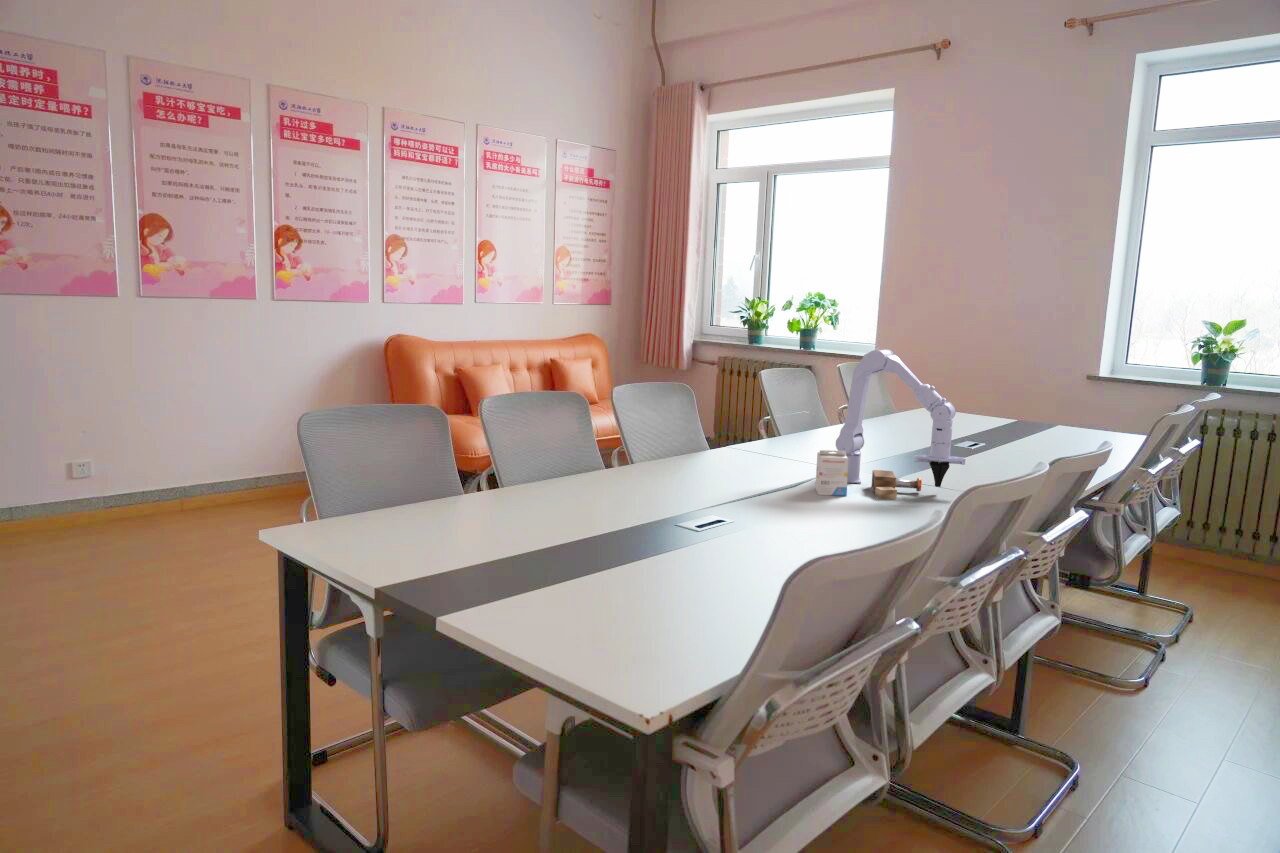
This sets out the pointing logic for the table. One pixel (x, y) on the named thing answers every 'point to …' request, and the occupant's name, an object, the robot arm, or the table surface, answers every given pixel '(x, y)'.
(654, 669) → the table surface
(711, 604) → the table surface
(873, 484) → the block
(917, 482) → the pin
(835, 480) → the ink box
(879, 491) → the block
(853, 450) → the robot arm
